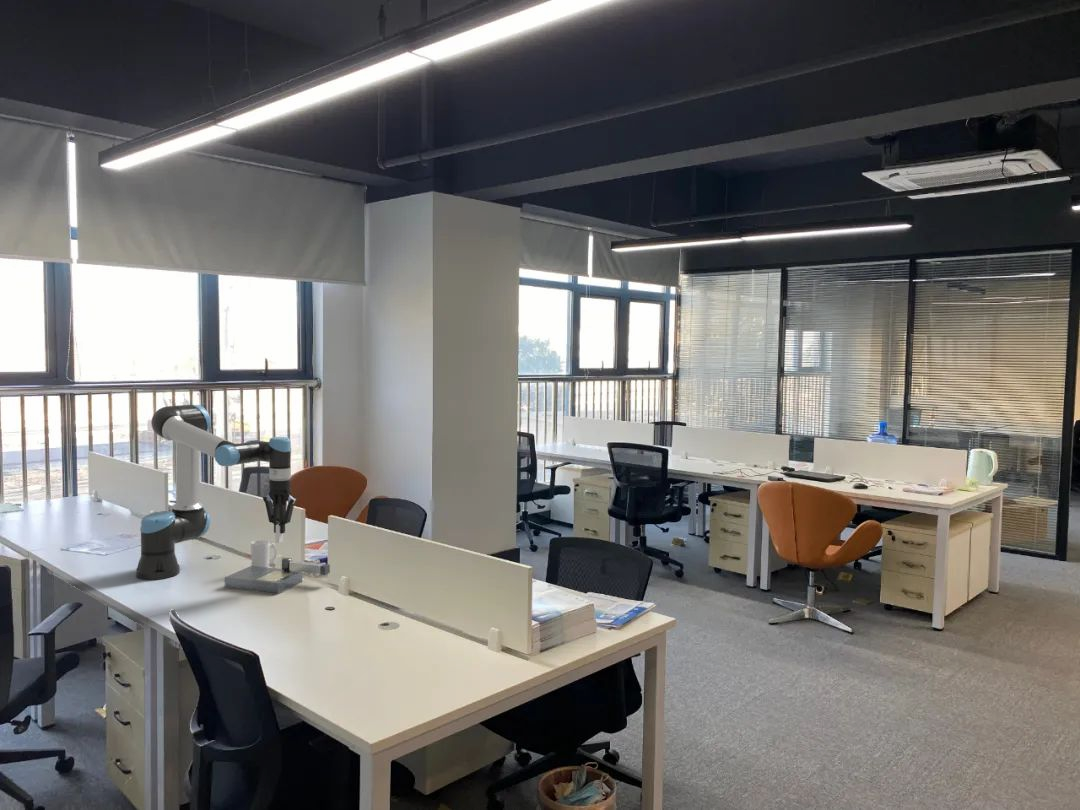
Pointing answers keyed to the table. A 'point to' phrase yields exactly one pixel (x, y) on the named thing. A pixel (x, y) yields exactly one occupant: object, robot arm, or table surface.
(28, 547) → the table surface
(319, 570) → the cable arm
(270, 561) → the mug
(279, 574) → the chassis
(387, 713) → the table surface
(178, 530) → the robot arm
